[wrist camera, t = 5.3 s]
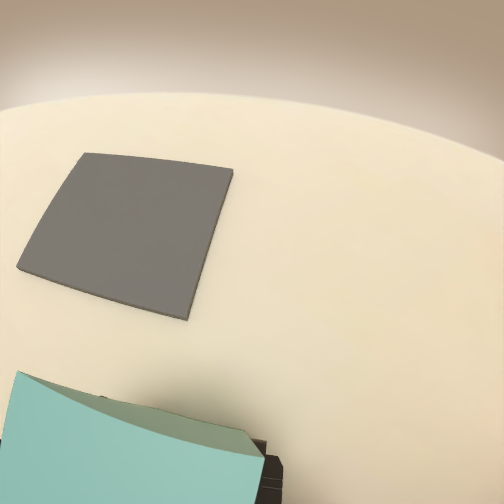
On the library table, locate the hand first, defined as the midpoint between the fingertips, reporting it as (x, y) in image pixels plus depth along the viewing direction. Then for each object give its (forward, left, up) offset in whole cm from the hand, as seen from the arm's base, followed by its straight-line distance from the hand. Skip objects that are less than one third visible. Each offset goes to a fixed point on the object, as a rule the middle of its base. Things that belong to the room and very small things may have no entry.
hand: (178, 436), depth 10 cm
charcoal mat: (+9, -12, -5) cm, 16 cm away
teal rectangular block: (0, +2, -5) cm, 6 cm away
